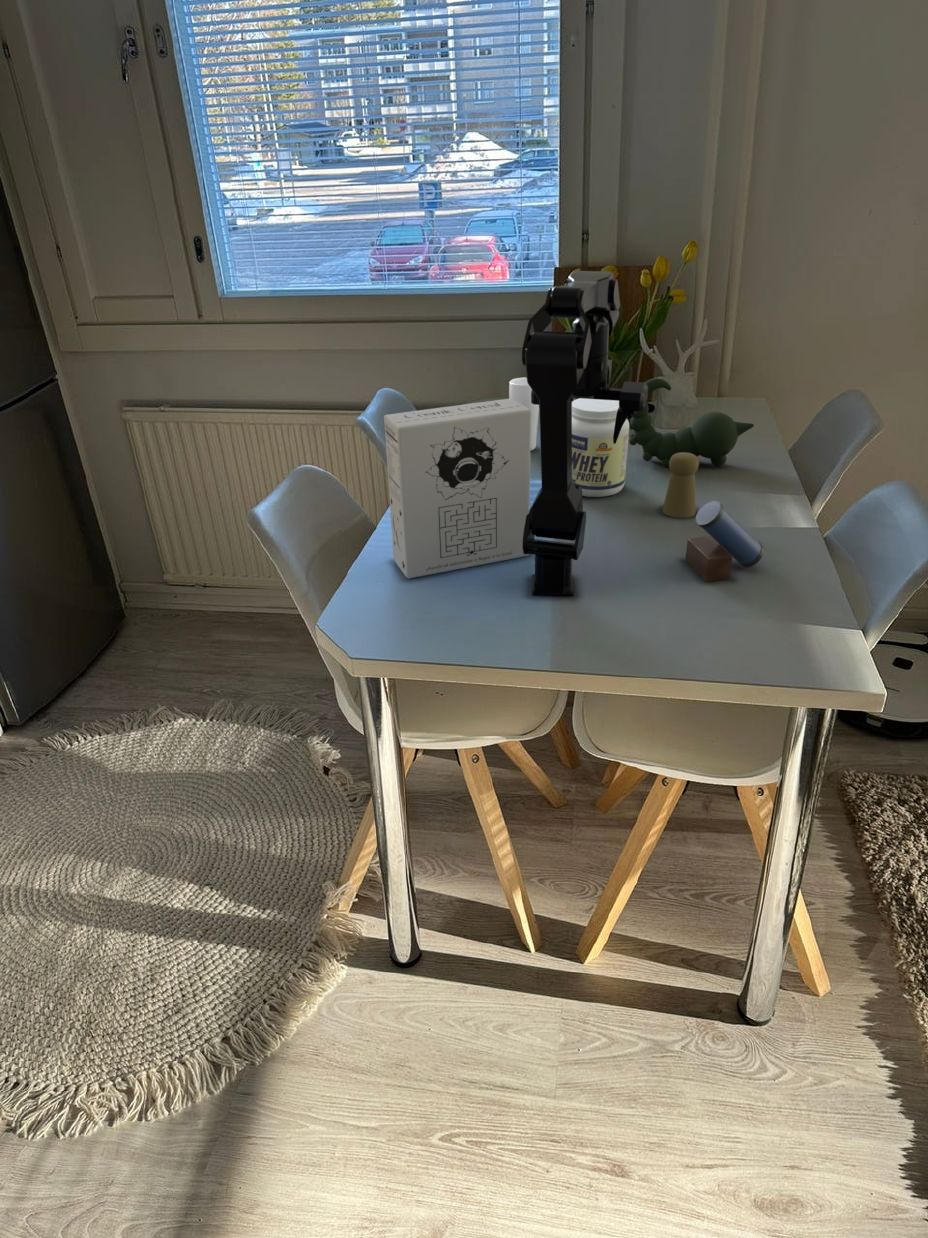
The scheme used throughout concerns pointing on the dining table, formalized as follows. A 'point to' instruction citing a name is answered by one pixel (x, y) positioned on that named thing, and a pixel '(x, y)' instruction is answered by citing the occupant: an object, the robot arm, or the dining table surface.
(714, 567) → the walnut block
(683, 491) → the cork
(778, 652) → the dining table surface
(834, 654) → the dining table surface
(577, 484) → the supplement tub
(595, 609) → the dining table surface
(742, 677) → the dining table surface
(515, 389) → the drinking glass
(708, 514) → the tube
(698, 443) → the toy figurine
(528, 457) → the cereal box
